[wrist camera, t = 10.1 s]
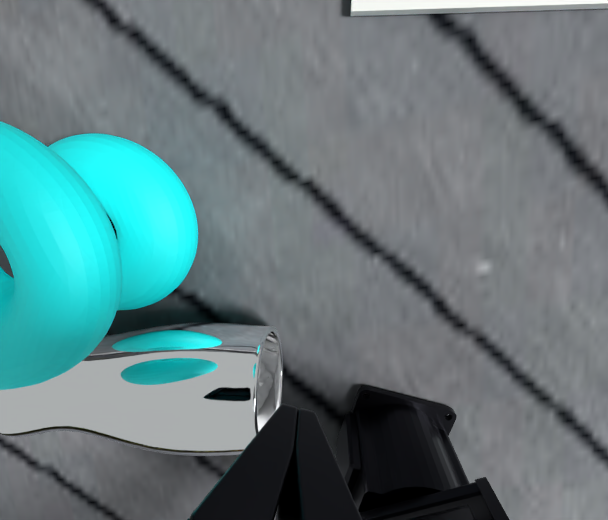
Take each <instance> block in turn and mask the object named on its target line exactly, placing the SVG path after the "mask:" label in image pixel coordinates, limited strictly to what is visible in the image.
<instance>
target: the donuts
mask: <svg viewBox="0 0 608 520" xmlns="http://www.w3.org/2000/svg"><path fill="white" fill-rule="evenodd" d="M107 215H108V216H109V217H110V219H111V220H112V222H113V224H114V226H115V229H116V233H117V239H116V235H115V232H114V230H113V227H112V225H111V222H110V220H109V218H108V216H107ZM0 245H1V247H2V248H3V250H4V252H5V254H6V256H7V258H8V260H9V263H10V266H11V269H12V272H13V276H14V278H12V277H11V276H9V275H8V274H7V273H5V271H4V270H3V269H2V268H1V267H0V390H7V389H15V388H21V387H26V386H32V385H35V384H39V383H42V382H45V381H47V380H50V379H52V378H54V377H57V376H59V375H61V374H63V373H65V372H67V371H68V370H70V369H71V368H73V367H74V366H76V365H77V364H78V363H80V362H81V361H82V360H84V359H85V358H86V357H87V356H88V355H89V354H90V353H91V352H92V351H93V350H94V349H95V348H96V347H97V346H98V344H99V343H100V342H101V341H102V339H103V338H104V337H105V335H106V333H107V332H108V330H109V328H110V326H111V324H112V322H113V320H114V317H115V315H116V312H117V310H132V309H138V308H142V307H145V306H148V305H151V304H154V303H156V302H158V301H160V300H162V299H163V298H165V297H166V296H168V295H169V294H170V293H171V292H173V291H174V290H175V289H176V288H177V287H178V286H179V285H180V284H181V283H182V281H183V280H184V279H185V277H186V276H187V274H188V272H189V270H190V268H191V266H192V264H193V261H194V258H195V255H196V251H197V245H198V224H197V218H196V214H195V210H194V207H193V204H192V201H191V199H190V196H189V194H188V192H187V190H186V188H185V187H184V185H183V183H182V182H181V180H180V179H179V178H178V176H177V175H176V174H175V173H174V171H173V170H172V169H171V168H170V167H169V166H168V165H167V164H166V163H165V162H164V161H163V160H162V159H160V158H159V157H158V156H157V155H155V154H154V153H152V152H151V151H149V150H148V149H146V148H144V147H143V146H141V145H139V144H137V143H135V142H133V141H130V140H127V139H125V138H121V137H118V136H113V135H107V134H98V133H90V134H80V135H74V136H70V137H67V138H64V139H61V140H59V141H57V142H55V143H53V144H51V145H50V146H48V147H47V146H46V145H44V144H43V143H41V142H40V141H38V140H36V139H35V138H33V137H32V136H30V135H28V134H27V133H25V132H23V131H21V130H19V129H17V128H15V127H13V126H11V125H9V124H6V123H4V122H1V121H0Z"/></svg>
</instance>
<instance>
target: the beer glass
mask: <svg viewBox="0 0 608 520" xmlns="http://www.w3.org/2000/svg"><path fill="white" fill-rule="evenodd" d="M282 393H283V355H282V346H281V341H280V336H279V333H278V331H277V329H276V328H275V327H274V326H257V325H246V324H234V323H213V322H199V323H180V324H172V325H164V326H158V327H152V328H146V329H141V330H136V331H130V332H125V333H120V334H114V335H108V336H105V337H104V338H103V339H102V341H101V342H100V343H99V344H98V346H97V347H96V348H95V349H94V350H93V351H92V352H91V353H90V354H89V355H88V356H87V357H86V358H85V359H84V360H82V361H81V362H80V363H78V364H77V365H76V366H74V367H73V368H71V369H70V370H68V371H67V372H65V373H63V374H61V375H59V376H57V377H54V378H52V379H50V380H47V381H45V382H42V383H39V384H35V385H32V386H26V387H21V388H15V389H7V390H0V435H3V436H8V437H22V436H30V435H36V434H41V433H47V432H55V431H72V432H80V433H84V434H88V435H92V436H96V437H99V438H103V439H106V440H110V441H113V442H116V443H120V444H124V445H127V446H131V447H135V448H138V449H143V450H148V451H153V452H158V453H163V454H174V455H185V456H227V455H240V454H241V453H242V452H243V450H244V449H245V448H246V447H247V445H248V444H249V443H250V442H251V441H252V439H253V438H254V437H255V436H256V434H257V433H258V432H259V431H260V430H261V428H262V427H263V426H264V425H265V423H266V422H267V421H268V420H269V418H270V417H271V416H272V415H273V414H274V412H275V411H276V410H277V409H278V407H279V406H280V405H281V404H282Z"/></svg>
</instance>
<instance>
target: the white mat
mask: <svg viewBox="0 0 608 520" xmlns="http://www.w3.org/2000/svg"><path fill="white" fill-rule="evenodd" d="M575 9H608V0H351V16H377V15H410V14H443V13H476V12H509V11H542V10H575Z"/></svg>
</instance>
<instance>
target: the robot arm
mask: <svg viewBox="0 0 608 520" xmlns="http://www.w3.org/2000/svg"><path fill="white" fill-rule="evenodd" d="M364 393H368V394H369V395H363V394H364ZM447 414H449V415H448V416H445V415H447ZM455 420H456V414H455V412H454V410H453V409H452V408H451V407H448V406H444V405H440V404H436V403H432V402H428V401H424V400H420V399H417V398H413V397H409V396H405V395H401V394H397V393H393V392H389V391H385V390H381V389H377V388H373V387H370V386H362V387H361V388H360V389H359V390H358V393H357V396H356V399H355V402H354V405H353V408H352V411H351V412H348V413H347V414H346V415H345V418H344V421H343V424H342V427H341V430H340V433H339V436H338V438H337V442H336V444H337V461H336V458H335V456H334V454H333V452H332V449H331V447H330V445H329V442H328V440H327V438H326V435H325V433H324V431H323V429H322V426H321V424H320V422H319V419H318V417H317V415H316V413H315V412H314V411H311V410H307V409H303V408H300V409H299V410H298V409H297V407H295V406H291V405H287V404H281V405H280V406H279V407H278V409H277V410H276V411H275V412H274V414H273V415H272V416H271V417H270V418H269V420H268V421H267V422H266V423H265V425H264V426H263V427H262V428H261V430H260V431H259V432H258V433H257V434H256V436H255V437H254V438H253V439H252V441H251V442H250V443H249V444H248V445H247V447H246V448H245V449H244V450H243V452H242V453H241V454H240V455H239V457H238V458H237V459H236V460H235V461H234V463H233V464H232V465H231V466H230V468H229V469H228V470H227V471H226V473H225V474H224V475H223V476H222V477H221V479H220V480H219V481H218V482H217V484H216V485H215V486H214V487H213V488H212V490H211V491H210V492H209V493H208V495H207V496H206V497H205V498H204V500H203V501H202V502H201V503H200V504H199V506H198V507H197V508H196V509H195V511H194V512H193V513H192V514H191V516H190V518H189V519H187V520H274V518H275V514H276V520H509V518H508V516H507V515H506V513H505V511H504V509H503V507H502V506H501V504H500V502H499V500H498V498H497V497H496V495H495V493H494V491H493V489H492V488H491V486H490V484H489V482H488V480H487V478H486V477H484V478H480V479H476V480H475V482H474V483H470V484H469V481H468V479H467V477H466V475H465V472H464V470H463V468H462V466H461V463H460V461H459V459H458V457H457V455H456V452H455V450H454V448H453V446H452V443H451V441H450V439H449V437H448V435H449V433H450V431H451V429H452V426H453V424H454V422H455ZM276 511H277V513H276Z"/></svg>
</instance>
